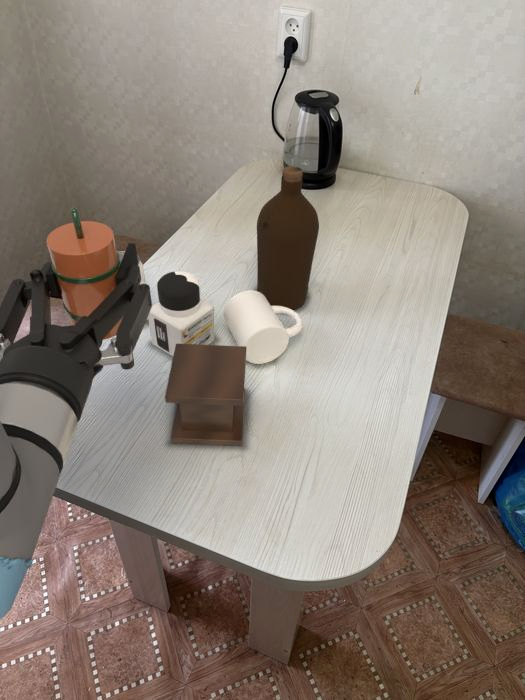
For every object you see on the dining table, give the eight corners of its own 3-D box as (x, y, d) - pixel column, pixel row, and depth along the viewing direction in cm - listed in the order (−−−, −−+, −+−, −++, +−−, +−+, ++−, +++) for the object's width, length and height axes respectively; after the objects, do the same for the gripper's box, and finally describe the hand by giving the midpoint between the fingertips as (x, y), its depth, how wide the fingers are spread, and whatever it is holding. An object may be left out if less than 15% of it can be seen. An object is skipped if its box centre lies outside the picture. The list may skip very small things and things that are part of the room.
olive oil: (298, 320, 92) (314, 190, 74) (245, 304, 94) (248, 176, 77) (316, 288, 99) (334, 164, 82) (266, 274, 101) (273, 151, 84)
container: (184, 364, 82) (178, 301, 73) (151, 344, 85) (141, 281, 76) (215, 340, 87) (213, 278, 78) (182, 321, 90) (177, 259, 81)
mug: (242, 369, 82) (243, 332, 77) (223, 330, 89) (222, 294, 83) (309, 353, 86) (314, 316, 80) (286, 317, 92) (289, 281, 87)
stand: (171, 443, 71) (164, 396, 64) (180, 390, 78) (175, 343, 71) (242, 446, 71) (243, 400, 64) (245, 393, 78) (246, 346, 71)
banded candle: (62, 340, 55) (25, 224, 45) (79, 302, 60) (49, 190, 50) (123, 342, 55) (100, 227, 45) (135, 304, 60) (116, 193, 50)
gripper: (-72, 434, 43) (25, 276, 60) (157, 442, 43) (189, 282, 60) (-113, 372, 38) (5, 218, 54) (147, 382, 38) (185, 226, 55)
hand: (101, 252), depth 57 cm, fingers closed on banded candle, 6 cm apart
